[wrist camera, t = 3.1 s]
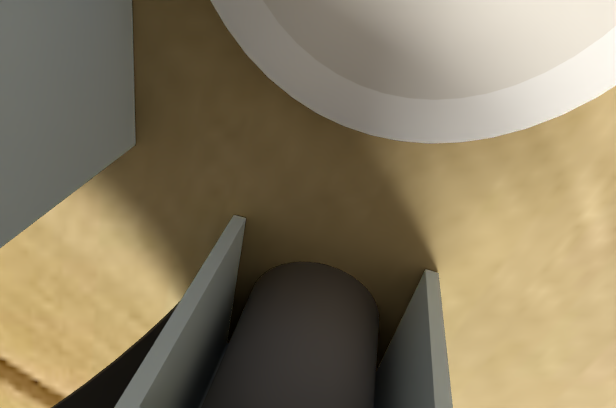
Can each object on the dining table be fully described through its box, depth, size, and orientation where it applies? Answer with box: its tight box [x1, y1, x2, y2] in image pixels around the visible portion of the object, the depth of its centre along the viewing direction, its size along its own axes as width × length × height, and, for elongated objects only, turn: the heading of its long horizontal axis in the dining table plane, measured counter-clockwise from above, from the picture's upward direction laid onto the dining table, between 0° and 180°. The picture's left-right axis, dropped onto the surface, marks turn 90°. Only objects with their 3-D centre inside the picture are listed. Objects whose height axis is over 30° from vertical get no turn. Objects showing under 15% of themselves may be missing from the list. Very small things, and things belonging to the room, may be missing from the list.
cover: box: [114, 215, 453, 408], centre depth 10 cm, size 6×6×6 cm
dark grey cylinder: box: [201, 262, 379, 408], centre depth 11 cm, size 4×4×4 cm
